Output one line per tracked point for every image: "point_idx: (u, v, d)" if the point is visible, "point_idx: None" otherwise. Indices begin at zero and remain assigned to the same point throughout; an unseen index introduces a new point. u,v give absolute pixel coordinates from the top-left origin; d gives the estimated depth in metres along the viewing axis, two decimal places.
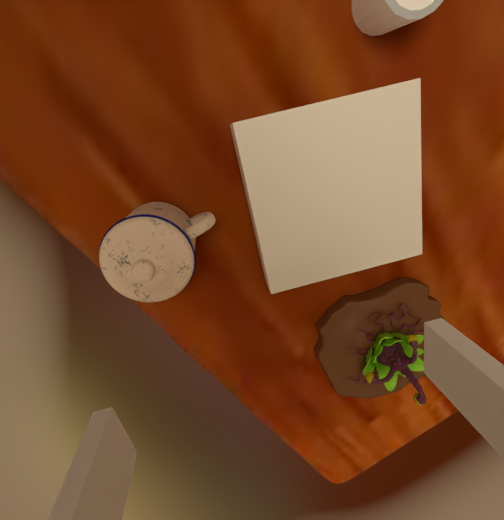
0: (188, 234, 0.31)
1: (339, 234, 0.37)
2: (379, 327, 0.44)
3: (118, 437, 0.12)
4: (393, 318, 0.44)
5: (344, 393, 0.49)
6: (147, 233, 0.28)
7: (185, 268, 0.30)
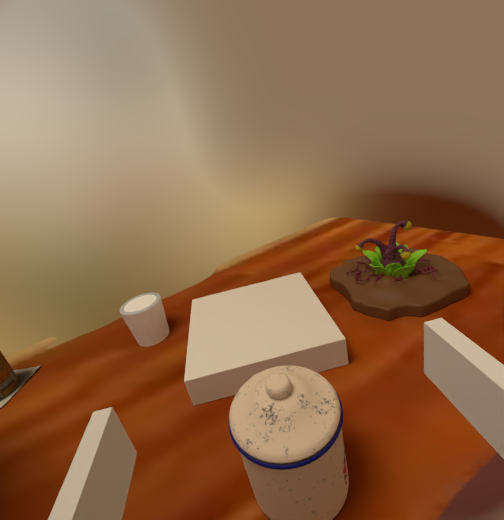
0: None
1: (284, 309, 0.46)
2: (371, 277, 0.52)
3: (118, 437, 0.12)
4: (361, 274, 0.54)
5: (461, 280, 0.46)
6: (244, 398, 0.25)
7: (289, 368, 0.27)
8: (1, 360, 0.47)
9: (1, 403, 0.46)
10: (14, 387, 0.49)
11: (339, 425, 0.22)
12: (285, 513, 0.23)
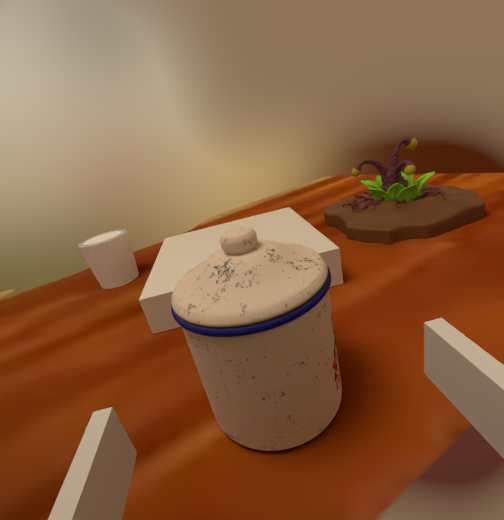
0: None
1: (267, 234, 0.39)
2: (370, 206, 0.45)
3: (118, 437, 0.12)
4: (359, 205, 0.47)
5: (476, 200, 0.39)
6: (195, 270, 0.18)
7: None
8: None
9: None
10: None
11: (325, 285, 0.15)
12: (249, 421, 0.16)
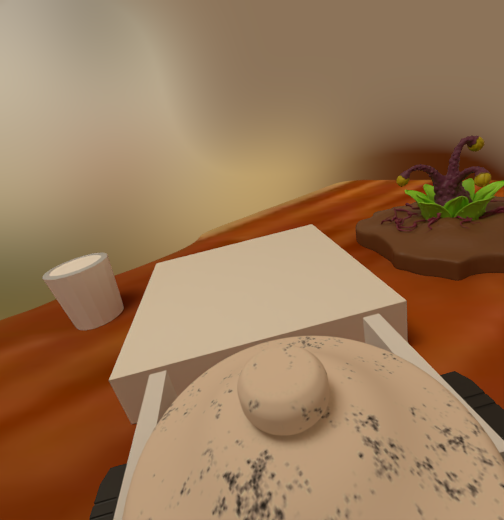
0: None
1: (290, 266, 0.29)
2: (420, 224, 0.35)
3: (172, 397, 0.13)
4: (403, 222, 0.37)
5: None
6: (180, 426, 0.08)
7: (309, 341, 0.11)
8: None
9: None
10: None
11: None
12: None
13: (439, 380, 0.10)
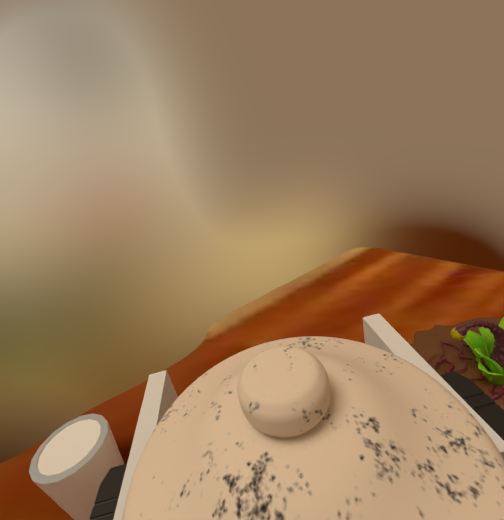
0: None
1: None
2: (478, 384, 0.30)
3: (172, 397, 0.13)
4: (455, 370, 0.32)
5: None
6: (180, 427, 0.08)
7: (309, 341, 0.11)
8: None
9: None
10: None
11: None
12: None
13: (439, 380, 0.10)
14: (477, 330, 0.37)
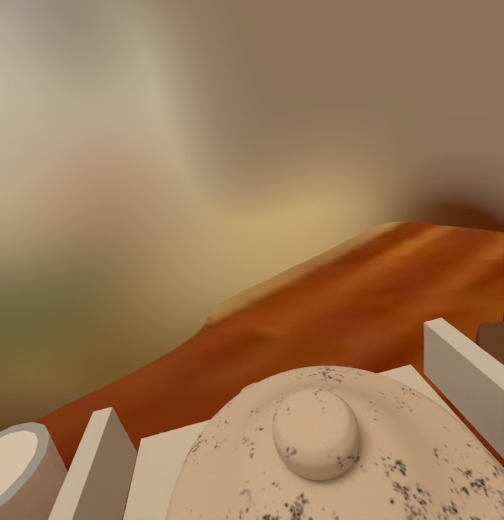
0: None
1: None
2: None
3: (118, 437, 0.12)
4: None
5: None
6: (212, 460, 0.09)
7: (329, 372, 0.11)
8: None
9: None
10: None
11: None
12: None
13: None
14: None
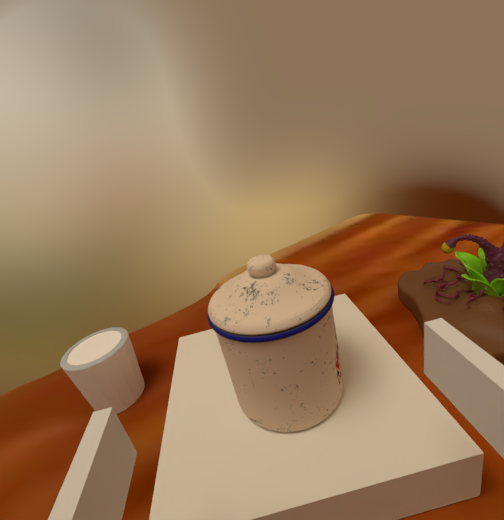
0: None
1: None
2: (463, 295, 0.33)
3: (118, 437, 0.12)
4: (447, 287, 0.36)
5: None
6: (225, 288, 0.23)
7: None
8: None
9: None
10: None
11: (329, 302, 0.20)
12: (270, 408, 0.21)
13: None
14: None
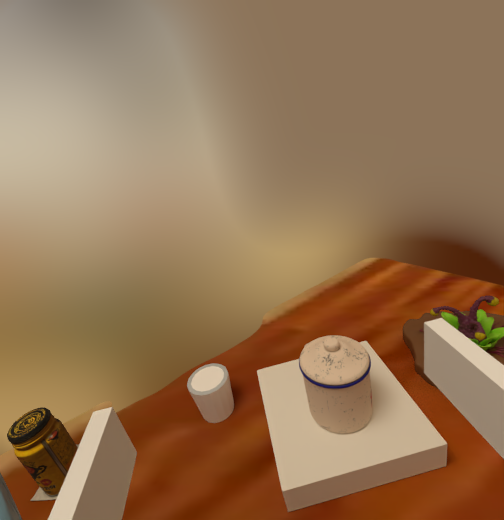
0: None
1: None
2: None
3: (118, 437, 0.12)
4: None
5: None
6: (308, 353, 0.41)
7: (333, 336, 0.43)
8: (71, 444, 0.46)
9: None
10: None
11: (369, 366, 0.38)
12: (336, 420, 0.39)
13: None
14: None
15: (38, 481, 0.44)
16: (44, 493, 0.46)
